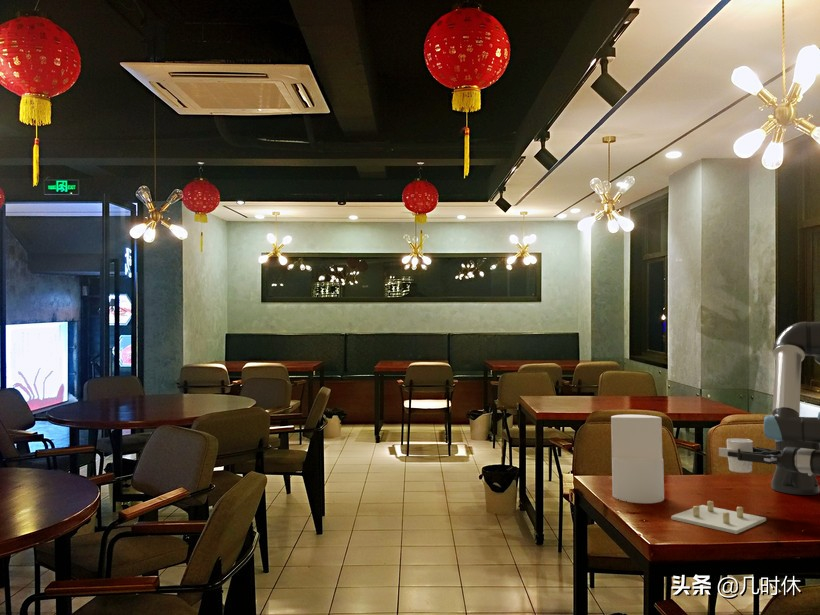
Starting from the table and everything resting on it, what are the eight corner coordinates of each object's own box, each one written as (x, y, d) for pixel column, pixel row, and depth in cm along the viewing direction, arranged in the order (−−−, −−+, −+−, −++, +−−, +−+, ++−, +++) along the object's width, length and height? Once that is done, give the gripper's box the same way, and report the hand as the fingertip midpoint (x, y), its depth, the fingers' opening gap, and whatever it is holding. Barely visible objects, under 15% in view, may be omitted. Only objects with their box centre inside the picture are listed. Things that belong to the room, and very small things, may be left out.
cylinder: (608, 490, 242) (606, 414, 243) (656, 491, 240) (655, 414, 241) (618, 502, 225) (616, 420, 226) (670, 503, 223) (668, 420, 224)
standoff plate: (766, 520, 202) (765, 507, 202) (736, 534, 189) (736, 520, 190) (702, 507, 218) (702, 495, 218) (671, 519, 205) (670, 506, 205)
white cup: (732, 467, 223) (731, 437, 223) (757, 470, 217) (756, 440, 218) (723, 470, 218) (722, 440, 218) (749, 474, 212) (748, 443, 212)
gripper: (786, 477, 197) (710, 465, 215) (812, 467, 210) (739, 457, 228) (785, 451, 197) (710, 442, 215) (811, 444, 211) (738, 435, 228)
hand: (725, 450), depth 221 cm, fingers closed on white cup, 8 cm apart
